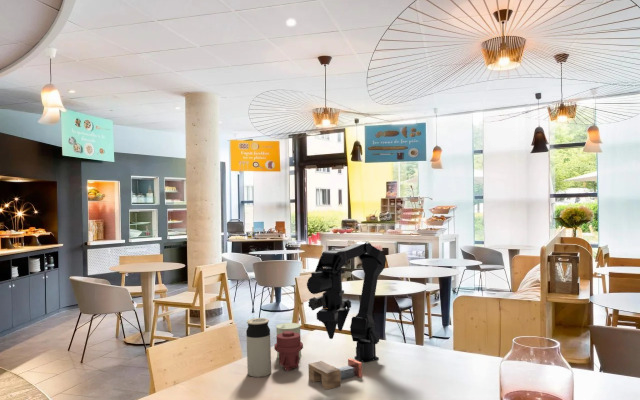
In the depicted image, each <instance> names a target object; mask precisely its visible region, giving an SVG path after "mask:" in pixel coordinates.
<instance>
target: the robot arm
mask: <svg viewBox="0 0 640 400" xmlns="http://www.w3.org/2000/svg"><path fill="white" fill-rule="evenodd" d="M357 257H358V259H359V260H360V261H361V267H362V270H363V273H364V277H363V283H362V289H361V295H360V301H359V307H358V313H357V314H356V315H355V316H352V318H351V323H350V325H349V328H350V331H349V332H350V334H351V338H352V341H353V342H356V347H355V356H354V359H355V360H357V361H359V362H360V361H361V362H363V363H367V362H372V361H375V360H379V358H380V357H379V356H377V355H376V354H377V353H376V352H377V351H376V349H377V348H376V345H377V344H379V342H380V337H381V336H380V335H379V333H378V331H376V323H375V320H374V318H373V310H374V304H375V297H376V293H377V292H376V291H377V284H378V280H379V279H378V278H379V275H381V273H382V272H383V271H384V268H385V265H386V261H387V259H386V258H387V257H386V256H385V255H384V252H382V251H381V250H380V249H378V248H376V247H375V246H374V245H372V244H371V242H369V241H357V242H356V243H354V244H351V245H349V246H346V247H343V248H340V249H337V250H336V249H335V250H334V249H333V250H331V249H330V250H324V251H322V253H321V255H320V258H319V260H318V261H317V262H318V263H317V265H316V268H315V271H313V272H311V273H310V274H311V276H310V277H308V280H307V281H306V287H307V290H308V291H309V292H310V294H312V295H317V294H320V293H322V295H321V296H318V297H315V296H314V297H311V298H309V300H308V307H309V308H310V310H312V311H315V310H316V309H320V308H321V309H320V310H318V311H317V312H316V320H318V321H319V322H320V323H321V322H322V324H323V325H324V327H325V329H326V333H327V335H328V338H329V339H330V340H333V338H334V336H335V332H336V328H337V330H338V331H339V332H342V331H343V327H344V325H345V323H346V321H347V317H348V316H349V313H350V311H351V308H352V302H351V300H350V299H348V298H347V299H346V298H343V294H345V290H344V289H343V281H342V280H343V279H342V277H343V276H342V275H344V274H345V273H346V271H345V270H344V269H343V267H344V266H346V265H347V262H349V261H350V260H352V259H355V258H357Z"/></svg>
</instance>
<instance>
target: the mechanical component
mask: <svg viewBox="0 0 640 400" xmlns="http://www.w3.org/2000/svg"><path fill="white" fill-rule="evenodd" d="M300 338H301V333H300V334H299V333H295V332H293V331H285V332H283V333H281V334H278V335H277V334H276V343H275V344H274V347H273V348H274V351H276V353H277V352H279V359H278V363H279V364H278V365H280V366H282V367H283V368H284V370H285V371H287V372H288V371H290V370H293V369H294V368H298V367H299V364H300V358H299V351H300V350H301V351H302V350H303V349H304V343H303V342H302V341H300Z"/></svg>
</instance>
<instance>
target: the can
mask: <svg viewBox="0 0 640 400" xmlns="http://www.w3.org/2000/svg"><path fill="white" fill-rule="evenodd" d="M275 327H276V328H275V329H276V330H275V331H276V336H277V335H278V334H281V333H283V332H285V331H293V332H295V333H299V334H300V335H301V324H300V323H296V322H284V323H279V324H277V325H276V326H275ZM300 341H301V337H300ZM301 342H302V341H301ZM301 357H302V350H300V351H299V359H300V358H301ZM276 358H277V359H278V360H279V352H277V351H276Z"/></svg>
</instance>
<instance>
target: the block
mask: <svg viewBox="0 0 640 400" xmlns="http://www.w3.org/2000/svg"><path fill="white" fill-rule="evenodd" d="M307 367H308V380H310V381H311V382H313V383H316V382H319V381H321V387H322V388H324V389H325V390H331V389H335V388H338V387H342V383H341V381H342V380H341V376H340V369H337V368H338V367H335V366H333V365H330V364H328V363H326V362H325V361H324V360H323V361H322V360H319V361H314V362H310V363H308V366H307Z"/></svg>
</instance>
